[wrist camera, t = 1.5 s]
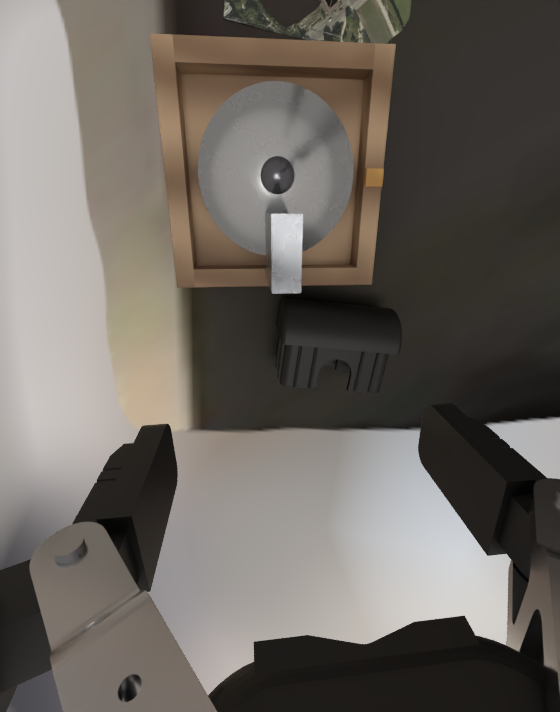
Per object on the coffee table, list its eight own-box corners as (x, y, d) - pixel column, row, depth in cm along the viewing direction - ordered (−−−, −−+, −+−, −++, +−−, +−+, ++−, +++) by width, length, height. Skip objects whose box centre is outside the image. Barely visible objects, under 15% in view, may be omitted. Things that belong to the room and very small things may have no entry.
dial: (194, 88, 25) (168, 24, 16) (351, 93, 25) (402, 35, 17) (208, 271, 29) (193, 295, 21) (340, 270, 30) (375, 291, 22)
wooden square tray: (163, 59, 26) (148, 31, 22) (375, 67, 27) (397, 42, 23) (185, 278, 32) (176, 288, 28) (357, 276, 33) (372, 285, 29)
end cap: (380, 300, 34) (410, 319, 28) (364, 366, 37) (389, 397, 31) (279, 289, 33) (287, 306, 27) (270, 358, 36) (275, 389, 29)
